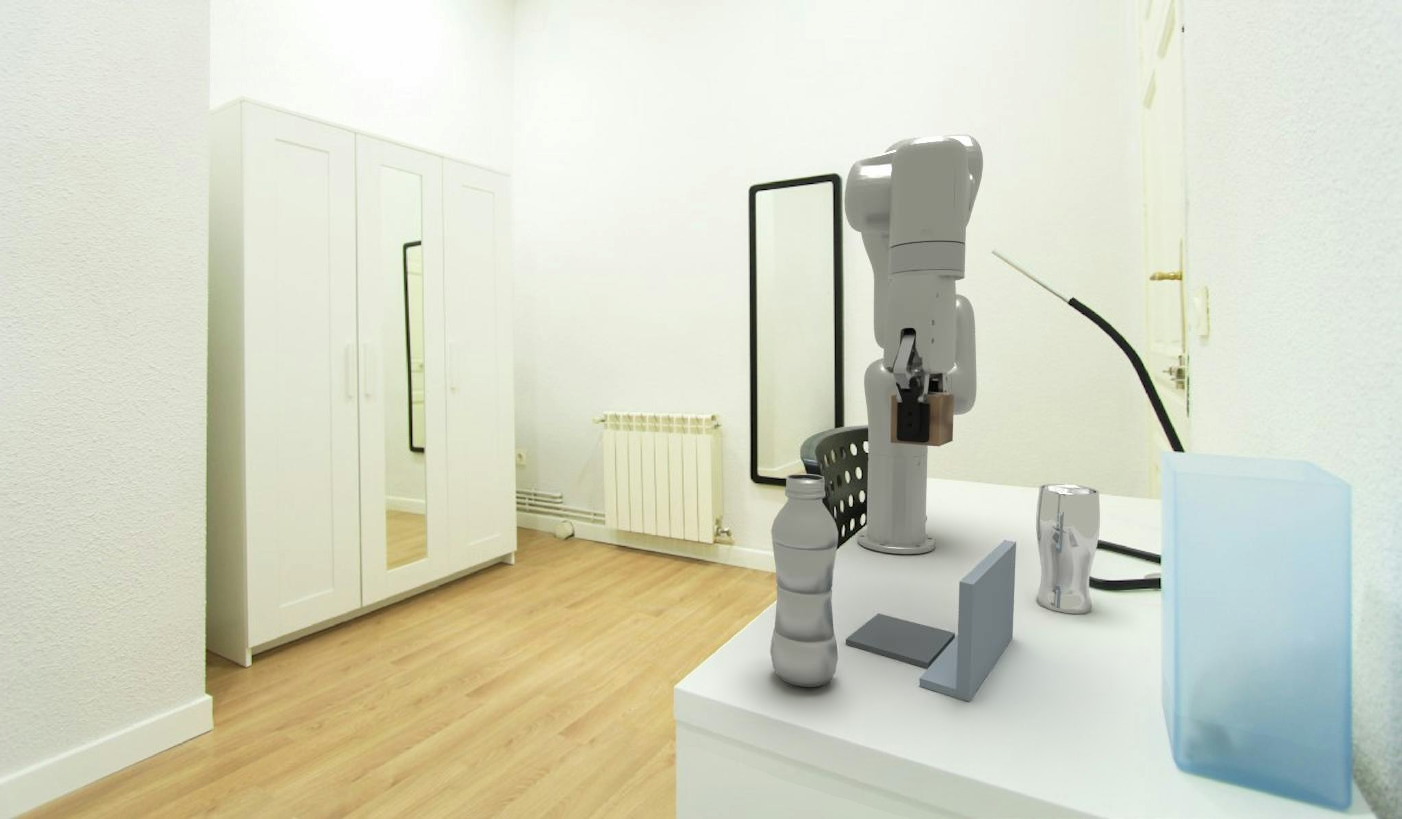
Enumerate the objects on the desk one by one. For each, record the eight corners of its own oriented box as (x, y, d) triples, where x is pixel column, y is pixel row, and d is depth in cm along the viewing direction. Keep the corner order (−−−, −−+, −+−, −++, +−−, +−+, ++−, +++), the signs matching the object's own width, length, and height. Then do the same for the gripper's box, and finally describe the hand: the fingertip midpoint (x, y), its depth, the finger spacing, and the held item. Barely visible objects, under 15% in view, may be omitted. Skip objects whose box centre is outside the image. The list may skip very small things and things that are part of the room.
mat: (878, 618, 77) (878, 613, 77) (954, 637, 71) (955, 632, 71) (845, 644, 70) (845, 638, 70) (928, 668, 64) (928, 662, 64)
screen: (969, 627, 74) (972, 534, 73) (1012, 637, 71) (1016, 541, 71) (919, 685, 61) (922, 573, 60) (969, 701, 58) (973, 584, 57)
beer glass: (1105, 617, 77) (1111, 495, 76) (1042, 613, 78) (1047, 493, 77) (1083, 596, 84) (1088, 484, 83) (1025, 593, 85) (1030, 482, 84)
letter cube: (906, 437, 72) (907, 390, 71) (952, 440, 69) (954, 391, 68) (890, 442, 68) (891, 392, 67) (938, 446, 65) (940, 394, 64)
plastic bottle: (797, 702, 58) (799, 486, 56) (757, 670, 64) (758, 474, 62) (852, 686, 61) (855, 480, 59) (808, 656, 67) (811, 469, 65)
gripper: (916, 276, 75) (912, 428, 77) (859, 259, 62) (856, 445, 63) (984, 271, 71) (978, 432, 73) (938, 252, 57) (932, 451, 59)
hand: (921, 436), depth 68 cm, fingers closed on letter cube, 5 cm apart
